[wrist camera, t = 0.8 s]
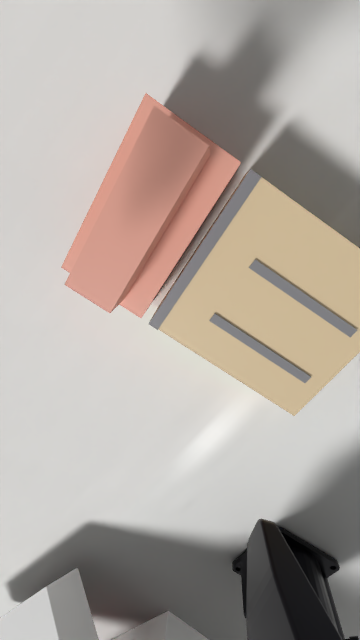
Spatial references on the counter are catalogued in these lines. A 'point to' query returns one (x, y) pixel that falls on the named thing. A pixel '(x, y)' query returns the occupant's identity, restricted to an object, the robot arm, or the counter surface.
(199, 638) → the pizza boxes
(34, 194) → the counter surface
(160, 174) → the pink stepped block
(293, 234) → the beige slotted tile
